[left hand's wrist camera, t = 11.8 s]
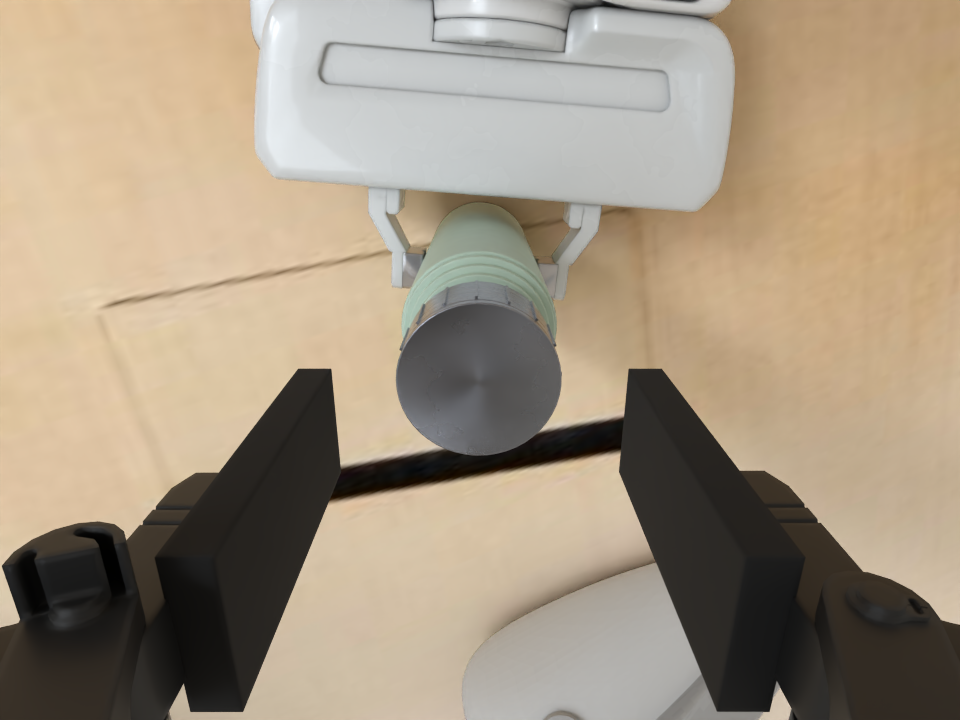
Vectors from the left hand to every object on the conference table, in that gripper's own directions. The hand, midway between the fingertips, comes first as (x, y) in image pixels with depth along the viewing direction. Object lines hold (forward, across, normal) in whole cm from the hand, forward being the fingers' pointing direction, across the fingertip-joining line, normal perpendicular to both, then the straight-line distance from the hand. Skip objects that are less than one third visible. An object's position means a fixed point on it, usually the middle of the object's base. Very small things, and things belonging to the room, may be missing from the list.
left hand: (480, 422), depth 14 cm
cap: (+3, 0, 0) cm, 3 cm away
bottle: (+22, 0, 0) cm, 22 cm away
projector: (+22, +11, -28) cm, 37 cm away
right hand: (+16, 0, -1) cm, 16 cm away
